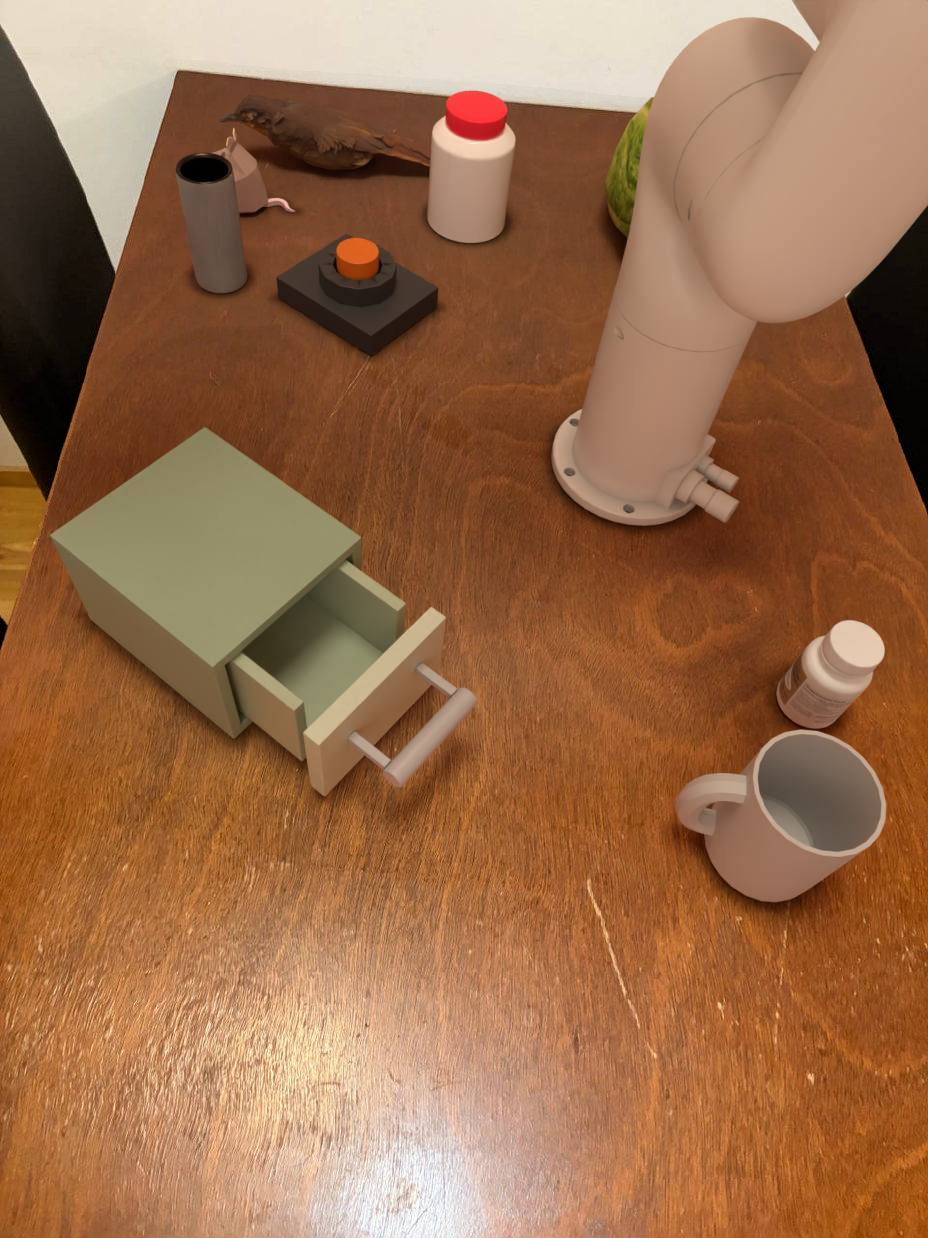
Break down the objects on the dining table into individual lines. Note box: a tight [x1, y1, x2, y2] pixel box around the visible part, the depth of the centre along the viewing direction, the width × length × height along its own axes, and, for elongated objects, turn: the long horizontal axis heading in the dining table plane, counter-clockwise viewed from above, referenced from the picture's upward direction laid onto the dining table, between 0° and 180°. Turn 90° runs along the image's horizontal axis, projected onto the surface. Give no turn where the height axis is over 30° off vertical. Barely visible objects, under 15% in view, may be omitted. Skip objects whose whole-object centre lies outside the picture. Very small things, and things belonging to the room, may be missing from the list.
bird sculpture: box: [216, 94, 431, 171], centre depth 90 cm, size 7×25×5 cm, turn 92°
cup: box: [674, 729, 887, 903], centre depth 51 cm, size 7×10×9 cm
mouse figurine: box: [212, 127, 296, 215], centre depth 84 cm, size 5×8×7 cm, turn 80°
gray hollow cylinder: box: [174, 152, 248, 294], centre depth 76 cm, size 4×4×10 cm
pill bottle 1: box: [426, 90, 517, 244], centre depth 84 cm, size 8×8×11 cm
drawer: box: [225, 560, 479, 797], centre depth 54 cm, size 17×11×7 cm, turn 52°
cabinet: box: [49, 426, 363, 740], centre depth 57 cm, size 14×12×9 cm
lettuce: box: [603, 96, 654, 239], centre depth 86 cm, size 15×25×16 cm
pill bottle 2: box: [776, 619, 886, 729], centre depth 58 cm, size 4×4×8 cm
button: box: [336, 237, 379, 280], centre depth 76 cm, size 4×4×2 cm
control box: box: [275, 233, 439, 357], centre depth 78 cm, size 11×9×4 cm
